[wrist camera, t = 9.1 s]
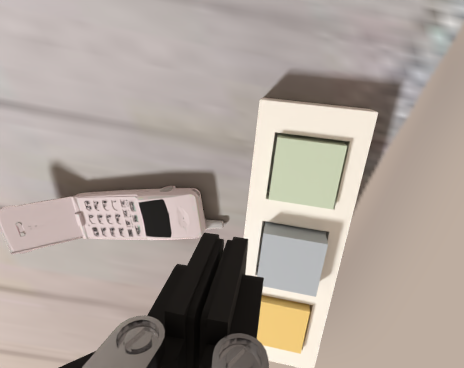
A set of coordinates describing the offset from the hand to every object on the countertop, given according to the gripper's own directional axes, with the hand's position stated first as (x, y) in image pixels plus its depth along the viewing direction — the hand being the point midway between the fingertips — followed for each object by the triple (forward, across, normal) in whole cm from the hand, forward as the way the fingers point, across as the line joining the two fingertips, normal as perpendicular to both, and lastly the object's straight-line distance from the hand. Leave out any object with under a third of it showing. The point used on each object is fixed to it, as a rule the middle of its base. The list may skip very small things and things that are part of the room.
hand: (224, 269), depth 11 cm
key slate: (+18, -4, +11) cm, 22 cm away
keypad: (+21, -4, +11) cm, 24 cm away
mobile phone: (+22, +16, +10) cm, 29 cm away
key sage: (+20, -4, +2) cm, 20 cm away
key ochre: (+19, -4, +20) cm, 28 cm away
